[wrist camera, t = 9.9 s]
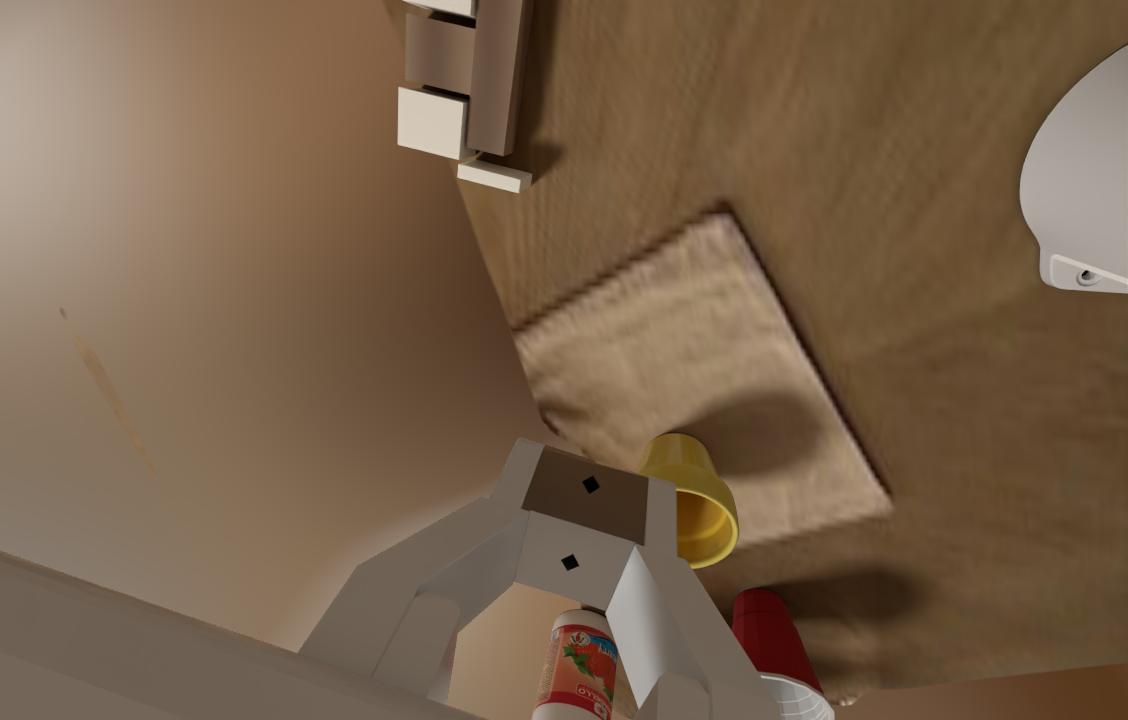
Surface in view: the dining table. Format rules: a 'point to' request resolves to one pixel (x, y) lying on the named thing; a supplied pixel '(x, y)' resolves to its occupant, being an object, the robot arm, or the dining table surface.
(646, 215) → the dining table surface
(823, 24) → the dining table surface
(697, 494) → the plant pot
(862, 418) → the dining table surface
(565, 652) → the fruit juice
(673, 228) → the dining table surface
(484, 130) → the walnut T block
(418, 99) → the cream T dock
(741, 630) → the plastic cup
